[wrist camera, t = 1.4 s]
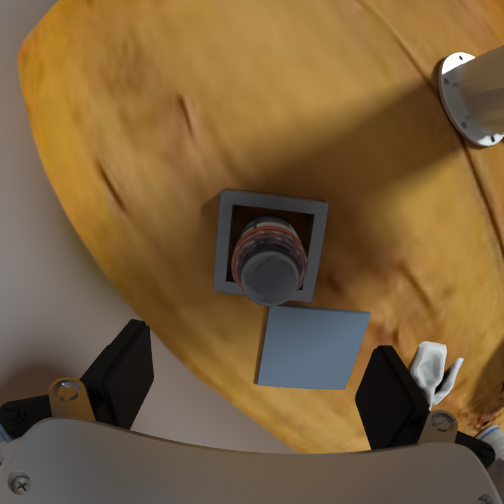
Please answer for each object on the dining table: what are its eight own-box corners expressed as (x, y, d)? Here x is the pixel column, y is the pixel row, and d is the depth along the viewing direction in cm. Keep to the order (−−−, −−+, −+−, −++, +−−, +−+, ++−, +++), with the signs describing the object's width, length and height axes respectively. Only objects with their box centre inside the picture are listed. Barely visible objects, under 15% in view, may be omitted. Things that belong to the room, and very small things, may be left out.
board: (369, 311, 32) (370, 314, 31) (343, 386, 35) (344, 389, 34) (269, 303, 32) (269, 305, 31) (257, 382, 35) (257, 384, 35)
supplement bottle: (283, 276, 31) (290, 331, 20) (232, 256, 31) (212, 302, 20) (306, 226, 29) (328, 259, 18) (253, 204, 29) (244, 223, 18)
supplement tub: (466, 441, 40) (487, 482, 26) (496, 417, 38) (520, 455, 24) (469, 452, 42) (487, 488, 28) (497, 430, 40) (518, 464, 26)
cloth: (385, 440, 39) (394, 464, 34) (334, 400, 36) (341, 430, 31) (482, 367, 34) (499, 386, 28) (456, 304, 31) (480, 324, 26)
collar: (323, 200, 28) (329, 203, 26) (308, 290, 31) (311, 302, 28) (225, 188, 29) (220, 190, 26) (217, 280, 31) (213, 291, 29)
